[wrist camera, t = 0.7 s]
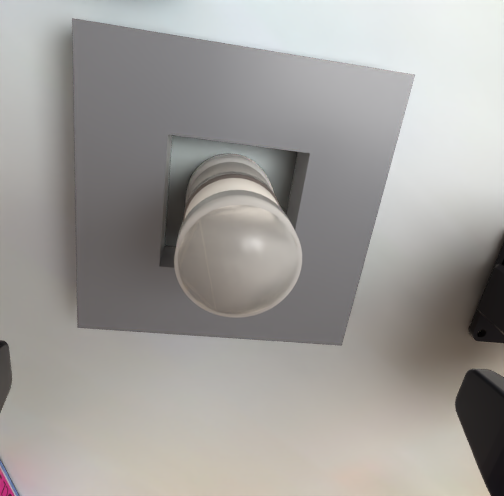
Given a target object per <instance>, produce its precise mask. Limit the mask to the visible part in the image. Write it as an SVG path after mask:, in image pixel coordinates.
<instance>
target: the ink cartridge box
mask: <svg viewBox="0 0 504 496" xmlns="http://www.w3.org/2000/svg"><path fill="white" fill-rule="evenodd" d="M0 496H19V495H18V493H17V491H16V489H15V487H14V485H13V483H12V481H11V479H10V477H9V475H8V473H7V471H6V469H5V467H4V465H3V464H2V462H1V460H0Z"/></svg>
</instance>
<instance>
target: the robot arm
mask: <svg viewBox="0 0 504 496" xmlns="http://www.w3.org/2000/svg"><path fill="white" fill-rule="evenodd" d="M480 330H481V331H480ZM479 331H480V332H479ZM478 332H479V333H478ZM469 334H470V335H471V336H472V337H473V338H474V339H475V340H476V341H484V342H498V343H504V243H503V246H502V248H501V251H500V253H499V256H498V258H497V261H496V263H495V266H494V268H493V270H492V273H491V275H490V278H489V280H488V283H487V285H486V288H485V290H484V293H483V295H482V298H481V300H480V303H479V305H478V308H477V310H476V313H475V315H474V318H473V320H472V323H471V325H470V327H469ZM11 384H12V371H11V362H10V353H9V346H8V344H7V343H6V342H5V341H3V340H0V412H1V410H2V408H3V405H4V403H5V401H6V398H7V396H8V393H9V391H10V388H11ZM455 408H456V412H457V415H458V417H459V420H460V422H461V425H462V427H463V430H464V432H465V435H466V437H467V440H468V442H469V445H470V448H471V450H472V453H473V455H474V458H475V460H476V463H477V465H478V468H479V470H480V473H481V475H482V477H483V480H484V482H485V484H486V487H487V489H488V491H489V493H490V495H491V496H504V377H502V376H501V375H499V374H497V373H495V372H494V371H491V370H488V369H470V370H469V371H468V372H467V373H466V375H465V377H464V380H463V382H462V385H461V387H460V389H459V392H458V394H457V397H456V401H455Z"/></svg>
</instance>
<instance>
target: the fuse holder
mask: <svg viewBox="0 0 504 496" xmlns="http://www.w3.org/2000/svg"><path fill="white" fill-rule="evenodd" d="M72 25H73V84H74V143H75V202H76V261H77V320H78V328H90V329H105V330H120V331H135V332H149V333H164V334H179V335H194V336H209V337H224V338H238V339H253V340H268V341H283V342H298V343H313V344H327V345H342V342H343V338H344V335H345V331H346V327H347V324H348V320H349V316H350V312H351V309H352V305H353V301H354V298H355V294H356V290H357V287H358V283H359V279H360V276H361V272H362V268H363V265H364V261H365V257H366V254H367V250H368V246H369V242H370V239H371V235H372V231H373V228H374V224H375V220H376V217H377V213H378V209H379V206H380V202H381V198H382V195H383V191H384V187H385V184H386V180H387V176H388V172H389V169H390V165H391V161H392V158H393V154H394V150H395V147H396V143H397V139H398V136H399V132H400V128H401V125H402V121H403V117H404V114H405V110H406V106H407V103H408V99H409V95H410V91H411V88H412V84H413V80H414V77H415V75H413V74H407V73H401V72H395V71H389V70H383V69H377V68H371V67H365V66H359V65H353V64H347V63H340V62H334V61H328V60H322V59H316V58H310V57H304V56H298V55H292V54H286V53H280V52H274V51H268V50H261V49H255V48H249V47H243V46H237V45H231V44H225V43H219V42H213V41H207V40H201V39H195V38H189V37H183V36H176V35H170V34H164V33H158V32H152V31H146V30H140V29H134V28H128V27H122V26H116V25H110V24H104V23H98V22H91V21H85V20H79V19H73V18H72ZM172 135H175V136H183V137H190V138H198V139H205V140H213V141H220V142H228V143H236V144H243V145H251V146H258V147H266V148H273V149H281V150H289V151H296V152H298V153H297V158H296V164H295V169H294V175H293V180H292V185H291V191H290V196H289V202H288V207H287V213H286V215H287V217H288V218H289V220H290V222H291V224H292V226H293V228H294V230H295V232H296V234H297V236H298V238H299V241H300V245H301V250H302V266H301V271H300V274H299V277H298V280H297V282H296V284H295V285H294V287H293V289H292V290H291V291H290V293H289V294H288V295H287V296H286V297H285V298H284V299H283V300H282V301H281V302H280V303H278V304H277V305H276V306H274V307H273V308H271V309H269V310H267V311H265V312H263V313H260V314H257V315H253V316H249V317H240V318H234V317H224V316H220V315H216V314H213V313H210V312H208V311H206V310H204V309H202V308H201V307H199V306H198V305H196V304H195V303H194V302H193V301H192V300H191V299H189V297H188V296H187V295H186V294H185V293H184V291H183V289H182V288H181V286H180V284H179V282H178V280H177V276H176V273H175V266H174V256H175V249H176V247H172V246H165V232H166V218H167V203H168V189H169V175H170V161H171V146H172Z"/></svg>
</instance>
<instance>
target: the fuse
mask: <svg viewBox="0 0 504 496" xmlns="http://www.w3.org/2000/svg"><path fill="white" fill-rule="evenodd" d="M174 266H175V273H176V276H177V280H178V282H179V284H180V286H181V288H182V289H183V291H184V293H185V294H186V295H187V296H188V297H189V299H191V300H192V301H193V302H194V303H195V304H196V305H198V306H199V307H201V308H202V309H204V310H206V311H208V312H210V313H213V314H216V315H220V316H224V317H234V318H240V317H249V316H253V315H257V314H260V313H263V312H265V311H267V310H269V309H271V308H273V307H274V306H276V305H277V304H278V303H280V302H281V301H282V300H283V299H284V298H285V297H286V296H287V295H288V294H289V293H290V291H291V290H292V289H293V287H294V285H295V284H296V282H297V280H298V277H299V274H300V271H301V266H302V250H301V245H300V241H299V238H298V236H297V234H296V232H295V230H294V228H293V226H292V224H291V222H290V220H289V218H288V217H287V215H286V214H285V212H284V211H283V210H282V209H281V206H280V204H279V202H278V200H277V198H276V196H275V194H274V191H273V187H272V185H271V183H270V181H269V179H268V177H267V175H266V174H265V172H264V170H263V169H262V168H261V167H260V166H259V165H258V164H257V163H256V162H254V161H253V160H251V159H249V158H247V157H245V156H242V155H237V154H221V155H217V156H214V157H212V158H210V159H208V160H206V161H205V162H203V163H202V164H201V165H200V166H198V168H197V169H196V170H195V171H194V173H193V174H192V176H191V178H190V180H189V183H188V187H187V192H186V198H185V210H184V215H183V223H182V225H181V227H180V231H179V234H178V239H177V244H176V249H175V256H174Z"/></svg>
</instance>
